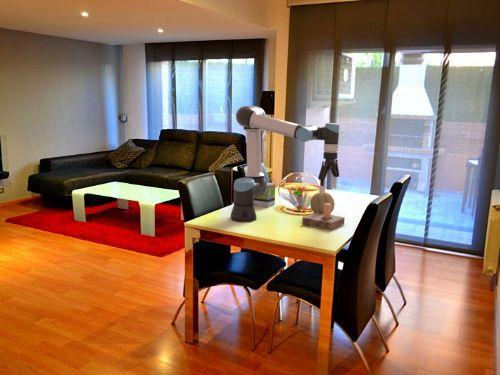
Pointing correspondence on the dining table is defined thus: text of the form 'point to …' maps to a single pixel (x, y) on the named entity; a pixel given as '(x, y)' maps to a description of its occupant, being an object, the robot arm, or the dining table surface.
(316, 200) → the cantaloupe
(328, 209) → the peg
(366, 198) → the dining table surface
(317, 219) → the socket block
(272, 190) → the tea box
